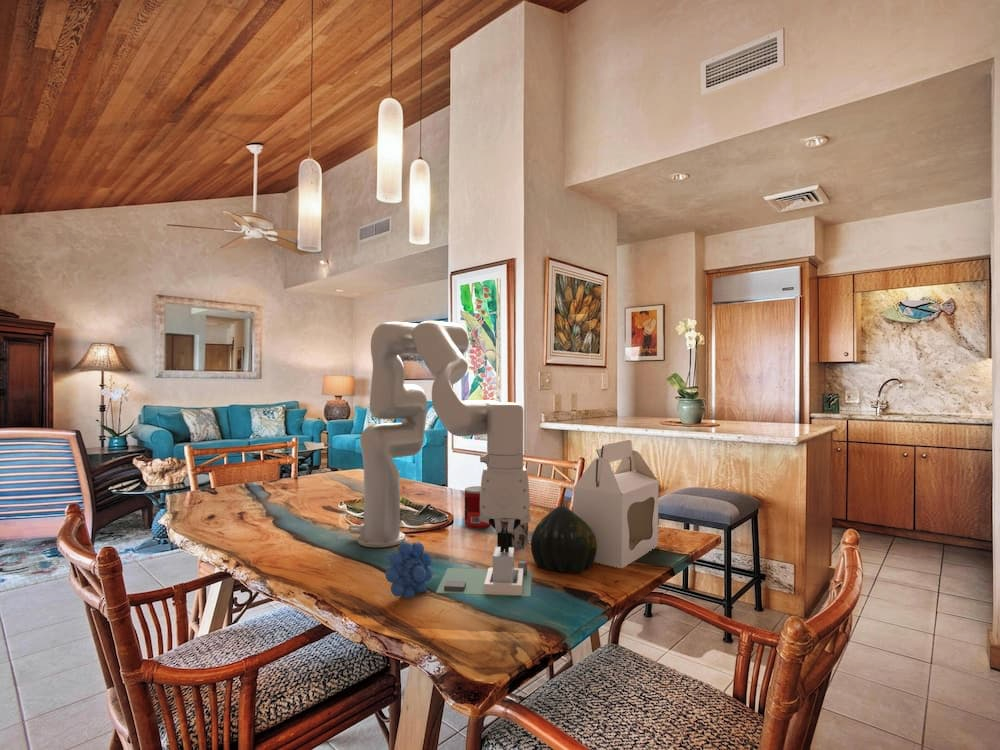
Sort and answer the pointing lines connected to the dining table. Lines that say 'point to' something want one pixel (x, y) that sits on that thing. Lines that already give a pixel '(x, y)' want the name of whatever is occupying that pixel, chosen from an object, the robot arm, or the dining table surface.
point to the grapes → (409, 570)
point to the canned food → (473, 508)
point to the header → (504, 584)
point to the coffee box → (518, 534)
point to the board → (477, 581)
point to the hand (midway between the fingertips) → (504, 550)
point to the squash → (563, 542)
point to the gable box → (619, 505)
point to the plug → (503, 566)
